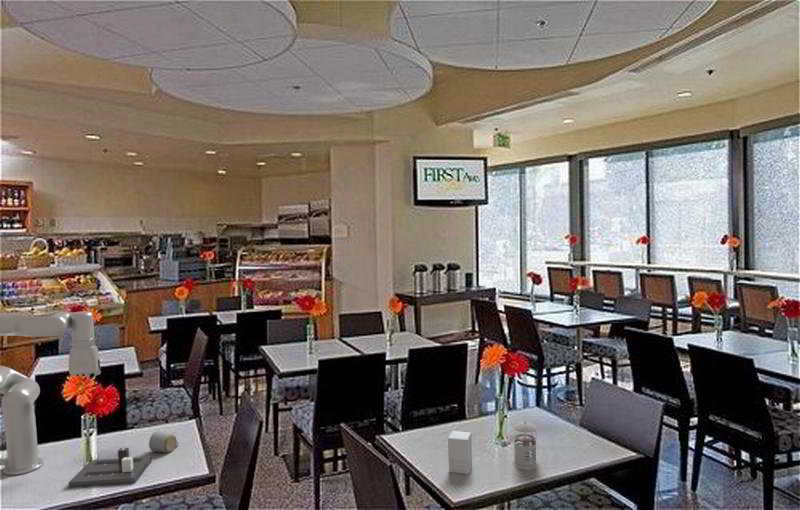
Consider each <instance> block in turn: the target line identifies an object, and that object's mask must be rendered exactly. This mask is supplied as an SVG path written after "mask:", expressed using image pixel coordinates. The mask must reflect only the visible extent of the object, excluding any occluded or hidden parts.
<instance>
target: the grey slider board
mask: <svg viewBox="0 0 800 510" xmlns="http://www.w3.org/2000/svg"><path fill="white" fill-rule="evenodd" d="M132 457H133V456H132ZM93 460H94V461H93V462H91V463H89V462H87V463H86V465H84V467H82V469H80V471H78V472H77V473H76V475H74V476H73V477H72V478H71V479H70V480H69V482H68V489H73V488H74V489H75V488H87V487H88V488H89V487H101V486H113V485H114V486H115V485H116V486H117V485H127V484H129V485H130V484H136V483H137V481H138V480H139V479H140V477H141V476H142V475H143V473H145V472H146V470H147V468H148V467H149V465H150V464H151V463H152V461H153V459H152V455H149V456H135V457H133V470H132V471H131V472H122V462H118V458H107V459H93Z"/></svg>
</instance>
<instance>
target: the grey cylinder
mask: <svg viewBox="0 0 800 510" xmlns="http://www.w3.org/2000/svg"><path fill="white" fill-rule="evenodd" d="M179 443H180V442H179V441H177V437H176V435H174V434H172V433H170V432H165V431H161V430H156V431H154V432H153V433H152V434H151V436H150V437H149V442H148V447H149V449H150V451H153V452H160V453H171V452H173V451H174V449H175V448H176V447H178V446H179Z"/></svg>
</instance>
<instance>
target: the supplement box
mask: <svg viewBox="0 0 800 510" xmlns="http://www.w3.org/2000/svg"><path fill="white" fill-rule="evenodd" d="M472 446H473V444H472V432H469V431H459V430H452V431H451V432H450V434H449V436H448V437H447V448H448V472H449V473H454V474H455V473H457V474H465V475H470V471H471V469H472V467H473V450H472V448H473V447H472Z"/></svg>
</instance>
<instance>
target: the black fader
mask: <svg viewBox="0 0 800 510" xmlns="http://www.w3.org/2000/svg"><path fill="white" fill-rule="evenodd" d="M117 456H118V457H117V459H118V462H122V459H123V458H124V457H130V449H129V447H121V448H119V449H118V450H117Z"/></svg>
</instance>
